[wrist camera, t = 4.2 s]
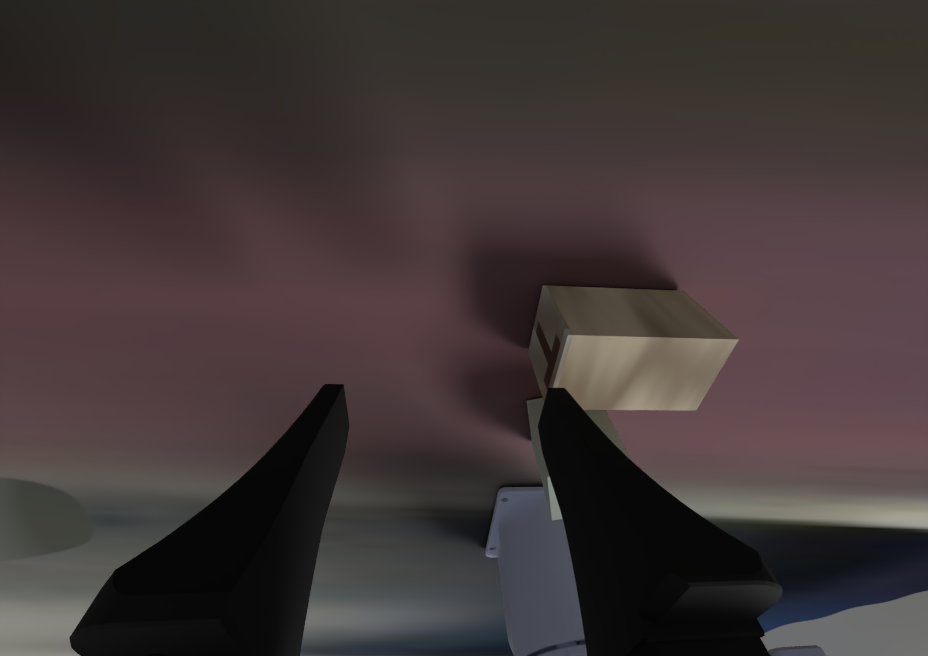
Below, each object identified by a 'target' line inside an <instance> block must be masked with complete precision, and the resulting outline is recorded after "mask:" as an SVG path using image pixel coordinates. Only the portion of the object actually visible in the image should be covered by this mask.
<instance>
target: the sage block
mask: <svg viewBox="0 0 928 656" xmlns="http://www.w3.org/2000/svg"><path fill="white" fill-rule="evenodd" d="M543 405H544V400H543V398H539V399H533V400H527V409H528V416H529V424H530V432H531V439H532V445H533V449H534V453H535V457H536V461H537V465H538V469H539V472H540V476H541V480H542V484H543V488H544V492H545V496H546V500H547V504H548V507H549V511H550V515H551V519H552V521H553V520H559V519H562V515H561V511H560V508H559V505H558V502H557V499H556V495H555V492H554V489H553V486H552V483H551V479H550V476H549V473H548V470H547V467H546V463H545V460H544V457H543V453H542V448H541V443H540V437H539V431H538V423H539V420H540V416H541V412H542V409H543ZM584 411H585V412H586V413H587V415H588V416H589V417H590V418H591V419H592V420H593V421H594V423H595V424H596V425H597V426H598V427H599V428H600V429H601V430H602V431H603V433H604V434H605V435H606V436H607V437H608V438H609V439H610V440H611V441H612V442H613V443H614V444H615V445H616V446H617V447H618V448H619V449H620V450H621V451H622V452H623V453H624V454H625V455H626V456H627V457H628V458H629V459H630V457H629V455H628V453H627V451H626V449H625V447H624V445H623V443H622V441H621V439H620V437H619V435H618V433H617V431H616V429H615V427H614V425H613V423H612V421H611V419H610V417H609V415H608V413H607V411H606V410H584ZM630 460H631V459H630Z"/></svg>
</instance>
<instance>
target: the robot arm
mask: <svg viewBox="0 0 928 656" xmlns="http://www.w3.org/2000/svg"><path fill="white" fill-rule="evenodd" d="M348 430H349V419H348V412H347V405H346V398H345V391H344V384H325V385H324V386H323V387H322V388H321V389H320V391H319V392H318V393H317V395H316V396H315V397H314V399H313V400H312V401H311V402H310V404H309V405H308V406H307V408H306V409H305V410H304V411H303V413H302V414H301V415H300V416H299V417H298V419H297V420H296V421H295V422H294V423H293V424H292V426H291V427H290V428H289V429H288V430H287V432H286V433H285V434H284V435H283V436H282V437H281V438H280V439H279V440H278V441H277V442H276V444H275V445H274V446H273V447H272V448H271V449H270V450H269V451H268V452H267V453H266V454H265V455H264V456H263V457H262V458H261V459H260V460H259V461H258V462H257V463H256V464H255V465H254V466H253V467H252V468H251V469H250V470H249V471H248V472H247V473H246V474H244V475H243V476H242V477H241V478H240V479H239V480H238V481H237V482H236V483H234V484H233V485H232V486H231V487H230V488H229V489H227V490H226V491H225V492H224V493H223V494H222V495H220V496H219V497H218V498H217V499H216V500H214V501H213V502H212V503H211V504H209V505H208V506H207V507H206V508H204V509H203V510H202V511H200V512H199V513H198V514H196V515H195V516H194V517H192V518H191V519H190V520H188V521H187V522H186V523H184V524H183V525H182V526H180V527H179V528H178V529H176V530H175V531H174V532H172V533H171V534H169V535H168V536H166V537H165V538H164V539H162V540H161V541H159V542H158V543H156V544H155V545H153V546H152V547H150V548H149V549H147V550H145V551H144V552H142V553H141V554H139V555H138V556H136V557H135V558H133V559H132V560H130V561H129V562H127V563H126V564H124V565H122V566H121V567H119V568H118V569H116V570H115V571H114V572H113V574H112V575H111V577H110V578H109V579H108V580H107V582H106V583H105V584H104V586H103V587H102V588H101V590H100V592H99V593H98V595H97V596H96V598H95V599H94V601H93V602H92V604H91V605H90V607H89V608H88V610H87V612H86V613H85V615H84V616H83V618H82V619H81V621H80V622H79V624H78V626H77V627H76V629H75V630H74V632H73V633H72V635H71V636H70V643H71V647H72V649H73V650H74V651H75V652H77V653H78V654H79V655H81V656H300V651H301V644H302V638H303V631H304V625H305V620H306V614H307V608H308V602H309V596H310V591H311V585H312V580H313V574H314V569H315V564H316V558H317V553H318V548H319V543H320V538H321V533H322V529H323V525H324V521H325V517H326V514H327V510H328V507H329V504H330V500H331V497H332V494H333V490H334V487H335V484H336V480H337V477H338V474H339V470H340V467H341V463H342V460H343V457H344V453H345V448H346V442H347V436H348ZM538 431H539V437H540V443H541V448H542V453H543V457H544V460H545V463H546V467H547V470H548V473H549V476H550V479H551V483H552V486H553V489H554V492H555V495H556V499H557V502H558V505H559V508H560V511H561V515H562V519H559V520H553V521H552V519H551V515H550V511H549V507H548V504H547V500H546V496H545V492H544V488H543V487H503V488H501V489H499V491H498V494H497V499H496V503H495V508H494V512H493V517H492V522H491V526H490V531H489V535H488V540H487V544H486V549H485V553H486V556H487V557H498V564H499V572H500V580H501V588H502V596H503V604H504V612H505V620H506V628H507V635H508V640H509V644H510V647H511V650H512V652H513V654H514V656H826V655H825V653H824V651H823V650H822V649H821V648H820V647H818V646H816V645H815V646H795V647H781V648H775V649H771V650H769V651H767V649H766V648H765V646H764V644H763V642H762V641H761V639H760V637H763V636H764V630H763V629H762V627H761V625H760V624H759V622H758V620H757V617H759V616H760V615H761V614H763V613H764V612H765V611H767V610H768V609H769V608H770V607H772V606H773V605H774V604H775V603H776V602H777V601H779V600H780V597H781V595H782V588H781V586H780V584H779V583H778V581H777V580H776V578H775V577H774V575H773V574H772V572H771V571H770V569H769V568H768V566H767V565H766V563H765V562H764V560H763V559H762V557H761V556H760V555H759V553H758V552H757V551H756V550H754V549H752V548H751V547H749V546H747V545H746V544H744V543H743V542H741V541H739V540H738V539H736V538H734V537H733V536H731V535H729V534H728V533H726V532H724V531H723V530H721V529H720V528H718V527H716V526H715V525H713V524H712V523H711V522H709V521H708V520H706V519H705V518H703V517H702V516H700V515H699V514H697V513H696V512H694V511H693V510H692V509H690V508H689V507H687V506H686V505H685V504H683V503H682V502H680V501H679V500H678V499H677V498H675V497H674V496H673V495H671V494H670V493H669V492H667V491H666V490H665V489H664V488H662V487H661V486H660V485H659V484H657V483H656V482H655V481H654V480H652V479H651V478H650V477H649V476H648V475H647V474H646V473H644V472H643V471H642V470H641V469H640V468H639V467H638V466H636V465H635V464H634V463H633V462H632V461H631V460H630V459H629V458H628V457H627V456H626V455H625V454H624V453H623V452H622V451H621V450H620V449H619V448H618V447H617V446H616V445H615V444H614V443H613V442H612V441H611V440H610V439H609V438H608V437H607V436H606V435H605V434H604V433H603V431H602V430H601V429H600V428H599V427H598V426H597V425H596V424H595V423H594V421H593V420H592V419H591V418H590V417H589V416H588V415H587V413H586V412H585V411H584V410H583V409H582V408H581V406H580V405H579V404H578V403H577V402H576V400H575V399H574V398H573V397H572V396H571V394H570V393H569V392H568V391H567V390H566V389H565V388H548V390H547V394H546V398H545V401H544V405H543V409H542V412H541V416H540V420H539V423H538Z"/></svg>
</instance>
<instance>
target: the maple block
mask: <svg viewBox="0 0 928 656" xmlns="http://www.w3.org/2000/svg"><path fill="white" fill-rule="evenodd" d="M738 340H739V339H738V338H737V337H735V336H734V335H733V334H732V333H731V332H730V331H729V330H728V329H726V328H725V327H724V326H723V325H722V324H721V323H720V322H718V321H717V320H716V319H715V318H714V317H713V316H712V315H710V314H709V313H708V312H707V311H706V310H705V309H704V308H702V307H701V306H700V305H699V304H698V303H697V302H696V301H695V300H693V299H692V298H691V297H690V296H689V295H688V294H687V293H685V292H684V291H674V290H649V289H624V288H599V287H573V286H548V285H543V286H542V291H541V296H540V300H539V305H538V309H537V314H536V318H535V323H534V327H533V332H532V337H531V341H530V346H529V350H528V355H529V358H530V361H531V364H532V367H533V370H534V373H535V376H536V379H537V382H538V385H539V388H540V391H541V394H542V397H543V400H544V401H545V398H546V394H547V390H548V388H565V389H566V390H567V391H568V392H569V393H570V394H571V396H572V397H573V398H574V399H575V400H576V402H577V403H578V404H579V405H580V406H581V408H582V409H583V410H697V408H698V406H699V405H700V403H701V401H702V400H703V398H704V396H705V395H706V393H707V392H708V390H709V388H710V387H711V385H712V383H713V382H714V380H715V378H716V377H717V375H718V373H719V372H720V370H721V368H722V367H723V365H724V363H725V362H726V360H727V358H728V357H729V355H730V353H731V352H732V350H733V349H734V347H735V345H736V344H737V342H738Z"/></svg>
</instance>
